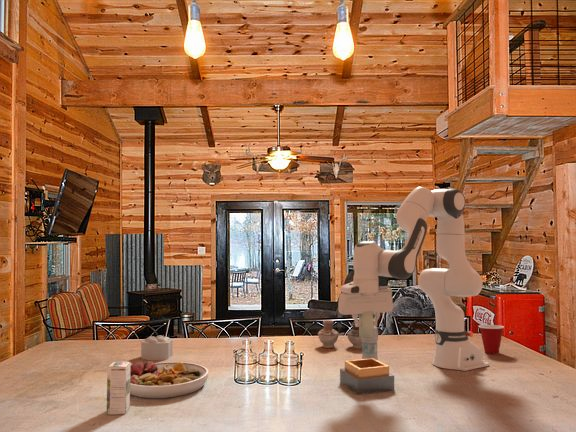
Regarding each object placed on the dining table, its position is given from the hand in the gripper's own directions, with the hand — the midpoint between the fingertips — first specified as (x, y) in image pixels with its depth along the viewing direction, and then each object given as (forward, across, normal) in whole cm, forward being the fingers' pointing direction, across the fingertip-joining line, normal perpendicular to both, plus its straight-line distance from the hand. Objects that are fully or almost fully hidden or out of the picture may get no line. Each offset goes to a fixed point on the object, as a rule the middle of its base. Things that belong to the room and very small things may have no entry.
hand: (366, 326), depth 179 cm
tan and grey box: (+21, 0, 0) cm, 21 cm away
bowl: (+22, +67, -24) cm, 75 cm away
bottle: (+21, -11, -18) cm, 30 cm away
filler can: (+4, 0, 0) cm, 4 cm away
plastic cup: (+21, -75, -24) cm, 82 cm away
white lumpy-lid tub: (+22, +67, -67) cm, 97 cm away
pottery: (+21, -18, -56) cm, 62 cm away
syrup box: (+22, +83, -4) cm, 86 cm away
